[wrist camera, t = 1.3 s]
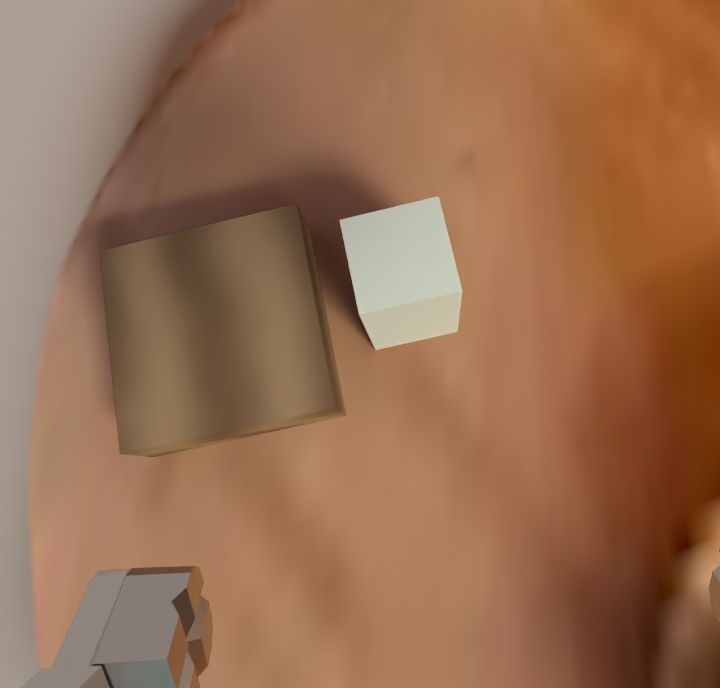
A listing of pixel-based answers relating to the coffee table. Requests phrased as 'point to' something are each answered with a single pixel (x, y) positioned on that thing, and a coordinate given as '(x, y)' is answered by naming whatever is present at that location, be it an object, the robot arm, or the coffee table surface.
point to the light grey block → (403, 273)
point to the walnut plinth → (218, 334)
